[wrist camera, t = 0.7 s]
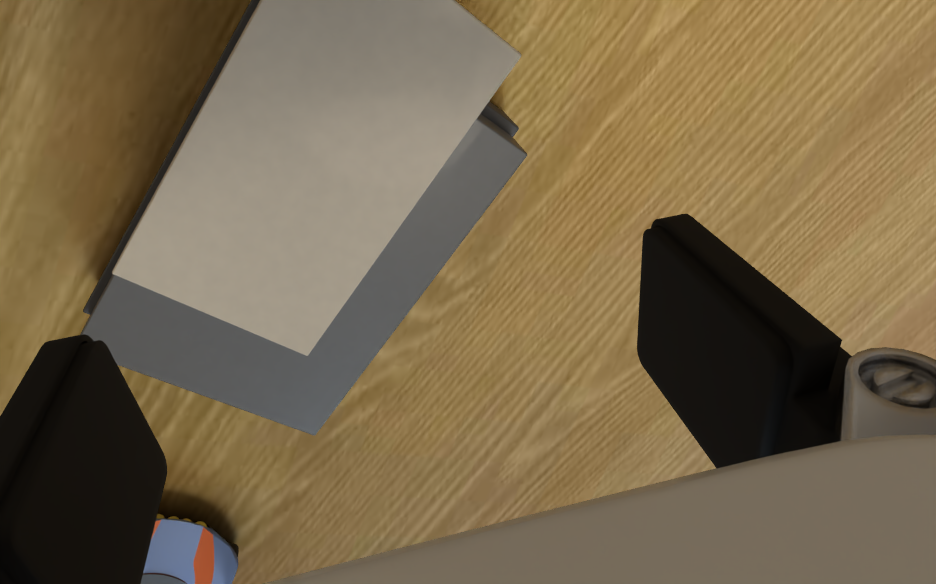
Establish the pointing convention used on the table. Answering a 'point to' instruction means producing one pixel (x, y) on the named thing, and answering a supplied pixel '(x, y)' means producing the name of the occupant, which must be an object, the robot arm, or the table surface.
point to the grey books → (355, 326)
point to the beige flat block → (312, 158)
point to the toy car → (188, 554)
